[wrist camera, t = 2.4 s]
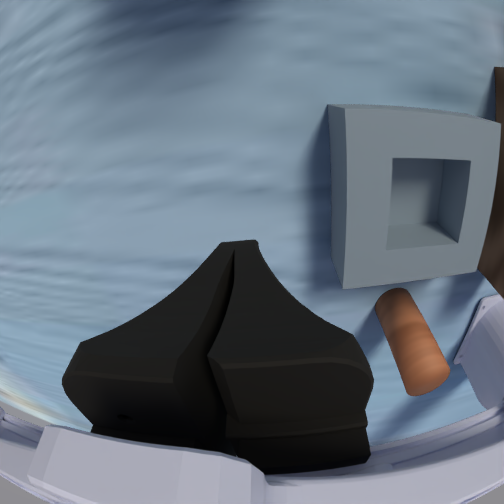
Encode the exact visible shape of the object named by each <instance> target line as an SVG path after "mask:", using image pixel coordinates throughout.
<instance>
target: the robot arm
mask: <svg viewBox="0 0 504 504" xmlns="http://www.w3.org/2000/svg"><path fill="white" fill-rule="evenodd" d="M453 362H454V364H460V363H461V365H462V367H463V369H464V371H465V373H466V375H467V377H468V379H469V381H470V383H471V386H472V388H473V390H474V392H475V394H476V396H477V399H478V400H479V402H480V403H481V405H482V406H483V407H485V408H486V409H487V410H486V411H484V412H481V413H479V414H477V415H474V416H472V417H469V418H467V419H464V420H461V421H459V422H456V423H453V424H451V425H448V426H445V427H442V428H439V429H436V430H433V431H430V432H427V433H423V434H420V435H416V436H413V437H409V438H406V439H402V440H398V441H394V442H390V443H386V444H381V445H377V446H372V447H370V446H369V442H368V437H367V432H366V427H367V425H368V421H367V416H366V412H365V409H366V406H367V403H368V400H369V398H370V395H371V392H372V389H373V383H374V378H373V375H372V371H371V368H370V365H369V363H368V361H367V359H366V357H365V355H364V353H363V351H362V349H361V347H360V345H359V344H358V342H357V340H356V339H355V337H354V335H353V334H351V333H349V332H347V331H345V330H343V329H341V328H339V327H337V326H335V325H333V324H331V323H329V322H327V321H325V320H323V319H322V318H320V317H319V316H317V315H316V314H314V313H313V312H312V311H310V310H309V309H308V308H306V307H305V306H304V305H302V304H301V303H300V302H299V301H298V300H297V299H295V298H294V297H293V296H292V295H291V294H290V293H289V292H288V291H287V290H286V289H285V288H284V286H283V285H282V284H281V283H280V282H279V281H278V279H277V278H276V277H275V275H274V274H273V273H272V271H271V270H270V268H269V267H268V265H267V263H266V262H265V260H264V258H263V256H262V254H261V252H260V250H259V246H258V242H257V241H256V240H244V241H232V242H221V243H220V244H219V245H218V246H217V248H216V249H215V250H214V251H213V252H212V253H211V254H210V256H209V257H208V258H207V259H206V260H205V261H204V262H203V263H202V264H201V266H200V267H199V268H198V269H197V270H196V271H195V272H194V273H193V274H192V275H191V276H190V277H189V278H188V279H187V280H185V281H184V282H183V283H182V284H181V285H180V286H179V287H178V288H177V289H176V290H174V291H173V292H172V293H171V294H169V295H168V296H167V297H165V298H164V299H163V300H162V301H160V302H159V303H157V304H156V305H154V306H153V307H151V308H150V309H148V310H147V311H145V312H143V313H142V314H140V315H139V316H137V317H135V318H133V319H132V320H130V321H128V322H126V323H124V324H122V325H120V326H118V327H116V328H114V329H112V330H110V331H108V332H105V333H103V334H101V335H98V336H96V337H93V338H91V339H88V340H86V341H83V342H80V344H79V346H78V348H77V350H76V352H75V354H74V355H73V357H72V359H71V361H70V363H69V365H68V367H67V369H66V371H65V373H64V375H63V377H62V386H63V388H64V391H65V393H66V395H67V396H68V398H69V399H70V400H71V402H72V403H73V404H74V405H75V406H76V407H77V408H78V409H79V410H80V412H81V413H82V414H83V415H84V416H85V417H86V418H87V419H88V420H89V421H90V422H91V423H92V424H93V427H92V429H91V432H86V431H82V430H78V429H74V428H70V427H67V426H59V425H47V426H45V428H43V427H40V426H38V425H35V424H32V423H29V422H27V421H24V420H21V419H19V418H17V417H14V416H12V415H9V414H7V413H5V412H4V410H3V409H2V408H1V407H0V475H1V476H2V477H3V478H5V479H7V480H8V481H10V482H12V483H13V484H15V485H17V486H18V487H20V488H22V489H24V490H26V491H27V492H29V493H31V494H33V495H35V496H37V497H38V498H41V499H42V500H44V501H47V502H48V503H51V504H467V503H469V502H471V501H473V500H474V499H477V498H479V497H480V496H482V495H484V494H486V493H488V492H490V491H491V490H493V489H495V488H497V487H499V486H500V485H502V484H503V483H504V299H503V298H502V297H501V296H500V294H498V295H494V296H489V297H485V298H483V299H482V300H481V301H480V303H479V306H478V308H477V311H476V313H475V316H474V318H473V320H472V323H471V325H470V327H469V329H468V332H467V334H466V336H465V338H464V340H463V343H462V345H461V347H460V349H459V351H458V353H457V355H456V357H455V359H454V361H453ZM236 455H237V457H236Z"/></svg>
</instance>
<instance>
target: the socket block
mask: <svg viewBox="0 0 504 504" xmlns="http://www.w3.org/2000/svg"><path fill="white" fill-rule="evenodd" d="M328 119H329V137H330V161H331V259H332V261H333V264H334V267H335V269H336V272H337V275H338V278H339V280H340V283H341V286H342V289H352V288H361V287H369V286H378V285H386V284H394V283H402V282H410V281H417V280H424V279H431V278H438V277H445V276H452V275H458V274H465V273H471V272H476V270H477V266H478V263H479V259H480V256H481V252H482V248H483V244H484V240H485V236H486V232H487V228H488V223H489V218H490V214H491V208H492V203H493V197H494V191H495V185H496V178H497V170H498V161H499V150H500V136H501V124H500V123H497V122H494V121H491V120H487V119H484V118H480V117H477V116H473V115H469V114H464V113H458V112H451V111H443V110H435V109H426V108H415V107H403V106H387V105H359V104H328Z"/></svg>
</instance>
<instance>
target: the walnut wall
mask: <svg viewBox="0 0 504 504" xmlns="http://www.w3.org/2000/svg"><path fill="white" fill-rule="evenodd" d="M494 68H495V86H496V122H497V123H500V124H501V136H500V150H499V161H498V170H497V178H496V185H495V191H494V197H493V203H492V208H491V214H490V218H489V223H488V228H487V232H486V236H485V240H484V244H483V248H482V252H481V256H480V259H479V263H478V266H477V268H478V270H479V271H480V272H481V273H482V274H483V275H484V276H485V278H486V279H487V280H488V281H489V282H490V283H491V285H492V286H493V287H494V288H495V289H496V291H497V292H498V293H499V294H500V296H501V297H502V298H503V299H504V67H494Z"/></svg>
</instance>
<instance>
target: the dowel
mask: <svg viewBox="0 0 504 504" xmlns="http://www.w3.org/2000/svg"><path fill="white" fill-rule="evenodd" d="M375 311H376V314H377V316H378V319H379V321H380V323H381V326H382V328H383V331H384V333H385V336H386V338H387V341H388V343H389V346H390V348H391V351H392V354H393V356H394V359H395V361H396V364H397V367H398V370H399V372H400V375H401V378H402V381H403V383H404V386H405V389H406V392H407V394H408V395H410V396H419V395H423V394H426V393H428V392H431V391H433V390H434V389H436V388H437V387H439V386H440V385H441V384H442V383H443V382H444V381H445V380H446V379H447V378H448V376H449V374H450V368H449V366H448V364H447V362H446V360H445V358H444V356H443V354H442V352H441V350H440V348H439V346H438V344H437V342H436V340H435V338H434V336H433V334H432V333H431V331H430V329H429V327H428V325H427V323H426V321H425V320H424V318H423V316H422V314H421V312H420V311H419V309H418V307H417V305H416V304H415V302H414V300H413V298H412V297H411V295H410V293H409V292H408V291H407V290H406V289H404V288H394V289H391V290H389V291H387V292H385V293H384V294H383V295H382V296H381V297H380V298H379V299H378V301H377V303H376V305H375Z"/></svg>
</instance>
